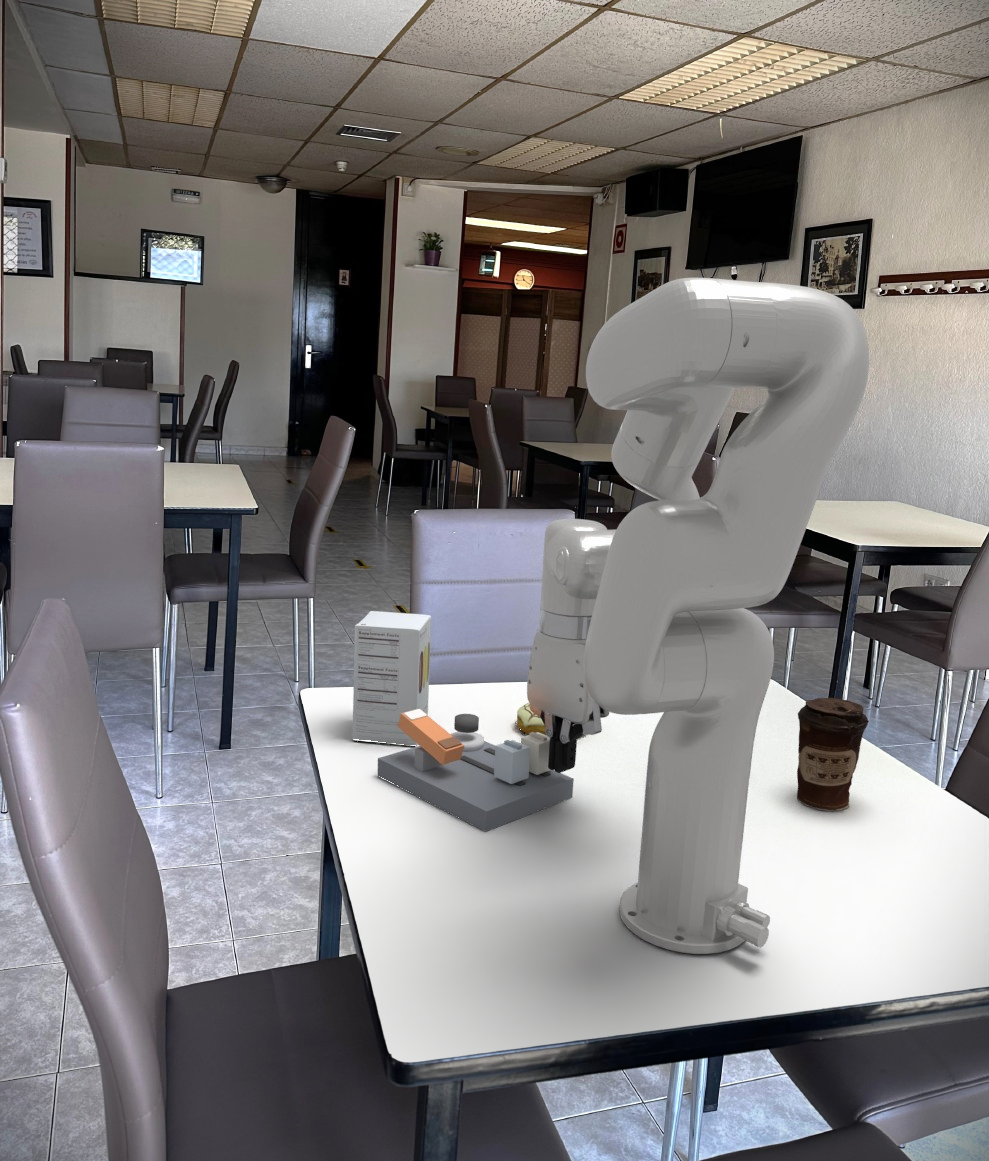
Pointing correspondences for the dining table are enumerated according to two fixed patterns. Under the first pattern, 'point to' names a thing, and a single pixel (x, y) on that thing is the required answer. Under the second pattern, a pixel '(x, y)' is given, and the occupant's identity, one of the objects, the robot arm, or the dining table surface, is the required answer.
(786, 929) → the dining table surface
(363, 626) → the supplement box
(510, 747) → the slate knob
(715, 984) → the dining table surface
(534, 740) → the ivory knob
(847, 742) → the coffee cup
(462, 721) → the push button
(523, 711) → the decorated donut
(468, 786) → the console
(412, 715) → the rocker switch
